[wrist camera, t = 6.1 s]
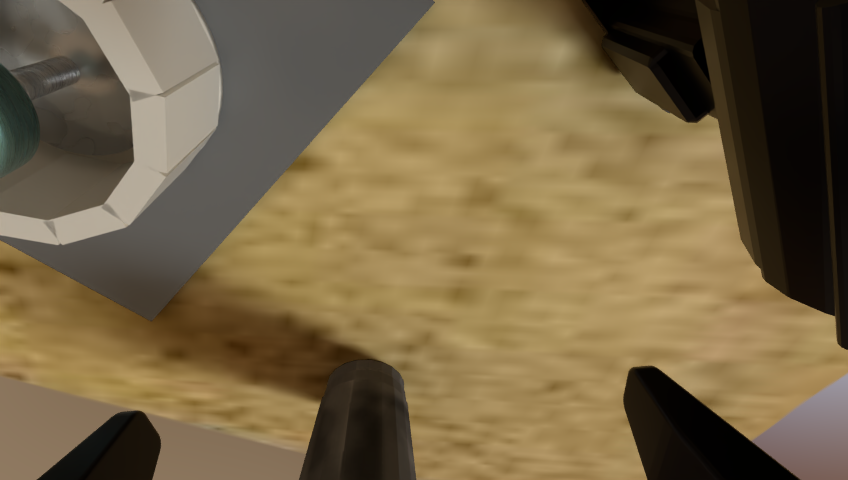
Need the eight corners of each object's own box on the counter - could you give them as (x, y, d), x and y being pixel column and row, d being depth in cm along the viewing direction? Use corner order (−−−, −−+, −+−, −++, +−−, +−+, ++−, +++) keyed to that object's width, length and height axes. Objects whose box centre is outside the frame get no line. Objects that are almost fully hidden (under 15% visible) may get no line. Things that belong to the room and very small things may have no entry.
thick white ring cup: (4, -176, 13) (-183, -237, 9) (272, 58, 17) (229, 94, 13) (-106, 95, 17) (-276, 142, 13) (132, 239, 21) (62, 313, 16)
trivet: (-27, -515, 11) (-45, -535, 10) (434, 1, 17) (434, 2, 16) (-215, 112, 18) (-230, 115, 17) (155, 314, 24) (151, 321, 23)
